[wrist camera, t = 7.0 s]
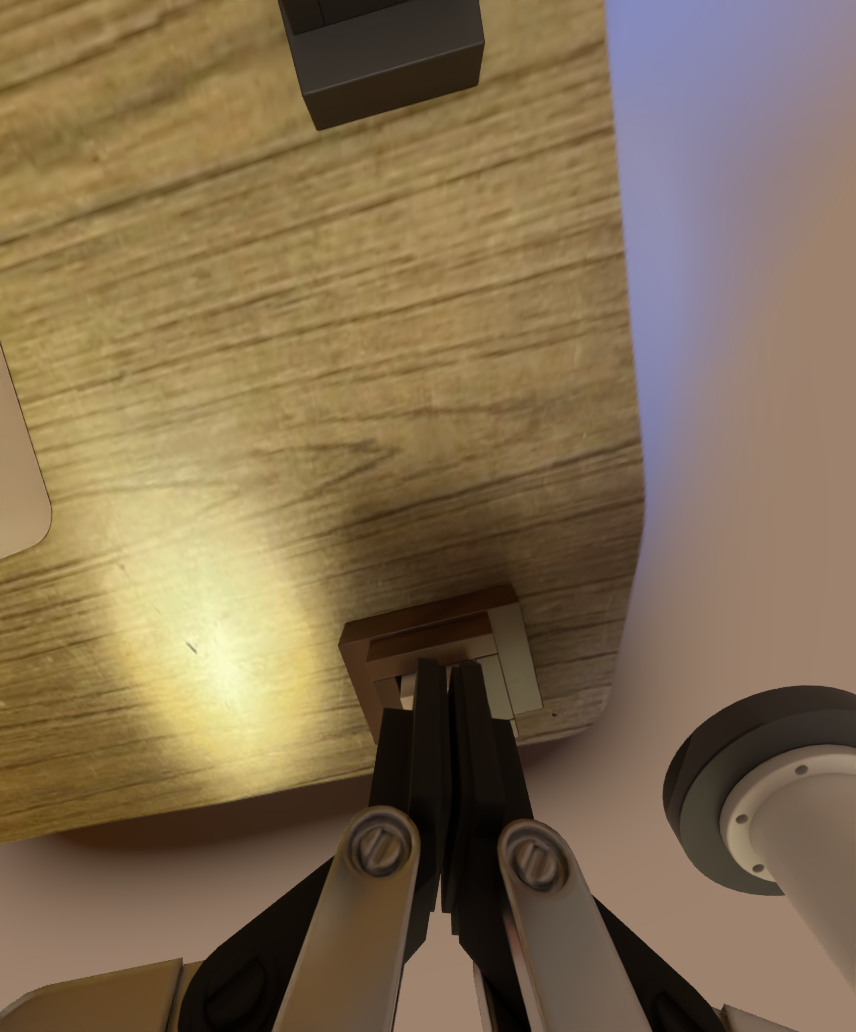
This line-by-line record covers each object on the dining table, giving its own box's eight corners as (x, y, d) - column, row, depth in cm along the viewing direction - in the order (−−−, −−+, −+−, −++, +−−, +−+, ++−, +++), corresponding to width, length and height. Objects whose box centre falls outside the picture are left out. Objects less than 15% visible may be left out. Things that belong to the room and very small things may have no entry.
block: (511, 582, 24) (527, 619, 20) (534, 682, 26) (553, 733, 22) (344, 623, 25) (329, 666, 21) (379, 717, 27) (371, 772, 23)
